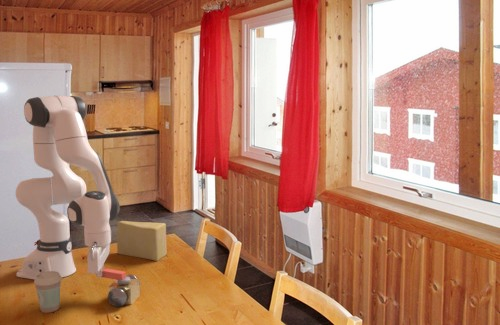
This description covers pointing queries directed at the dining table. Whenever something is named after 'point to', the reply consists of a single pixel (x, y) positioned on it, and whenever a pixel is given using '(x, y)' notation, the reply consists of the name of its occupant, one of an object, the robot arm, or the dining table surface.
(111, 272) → the lever
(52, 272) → the coffee cup
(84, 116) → the robot arm
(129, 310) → the dining table surface
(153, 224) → the cheese
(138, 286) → the valve
